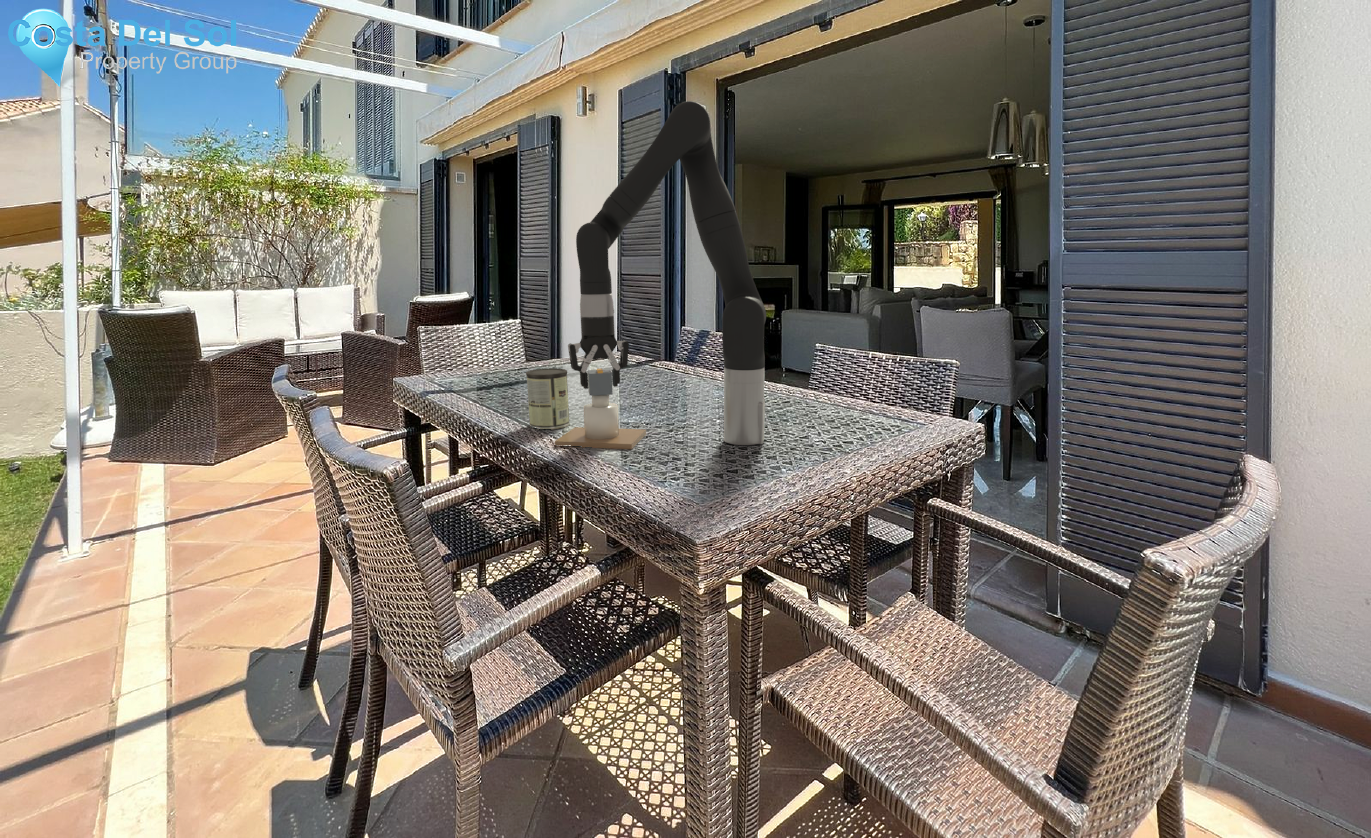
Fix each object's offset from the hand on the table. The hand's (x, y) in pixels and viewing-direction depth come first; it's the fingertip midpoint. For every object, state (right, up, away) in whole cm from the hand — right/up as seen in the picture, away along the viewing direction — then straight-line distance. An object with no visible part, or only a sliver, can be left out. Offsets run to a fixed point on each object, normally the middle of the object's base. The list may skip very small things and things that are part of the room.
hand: (600, 386), depth 164 cm
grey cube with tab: (0, -1, 0) cm, 1 cm away
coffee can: (-15, -9, +19) cm, 26 cm away
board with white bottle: (0, -12, +3) cm, 13 cm away
